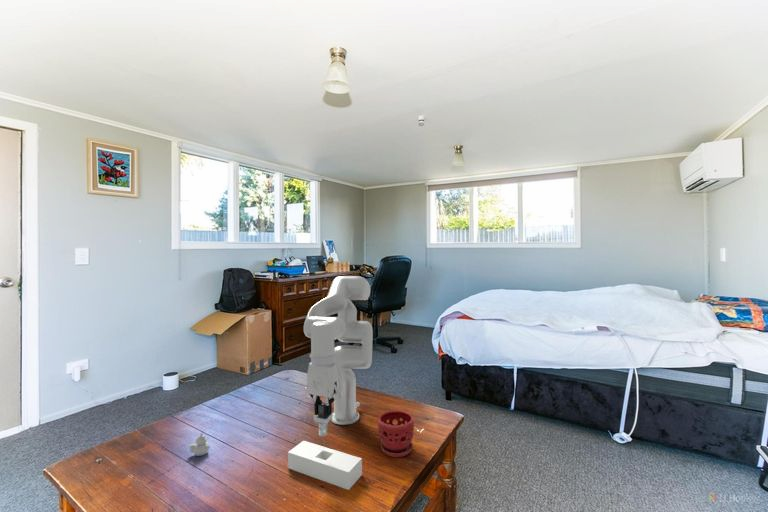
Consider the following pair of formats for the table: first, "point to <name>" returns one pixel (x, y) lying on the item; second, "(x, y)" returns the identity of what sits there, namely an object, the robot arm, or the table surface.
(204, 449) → the grey rounded lumpy piece
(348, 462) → the bar
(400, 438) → the plant pot
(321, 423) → the silver and black post
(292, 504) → the table surface
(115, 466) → the table surface
